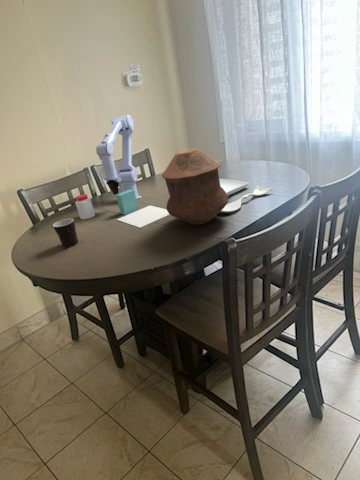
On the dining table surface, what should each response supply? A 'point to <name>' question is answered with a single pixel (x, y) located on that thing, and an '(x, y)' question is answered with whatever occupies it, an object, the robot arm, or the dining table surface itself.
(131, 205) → the teal slab
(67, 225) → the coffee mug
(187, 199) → the pottery vessel
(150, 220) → the mat
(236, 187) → the square plate
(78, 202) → the pill bottle
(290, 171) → the dining table surface
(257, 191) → the spoon
